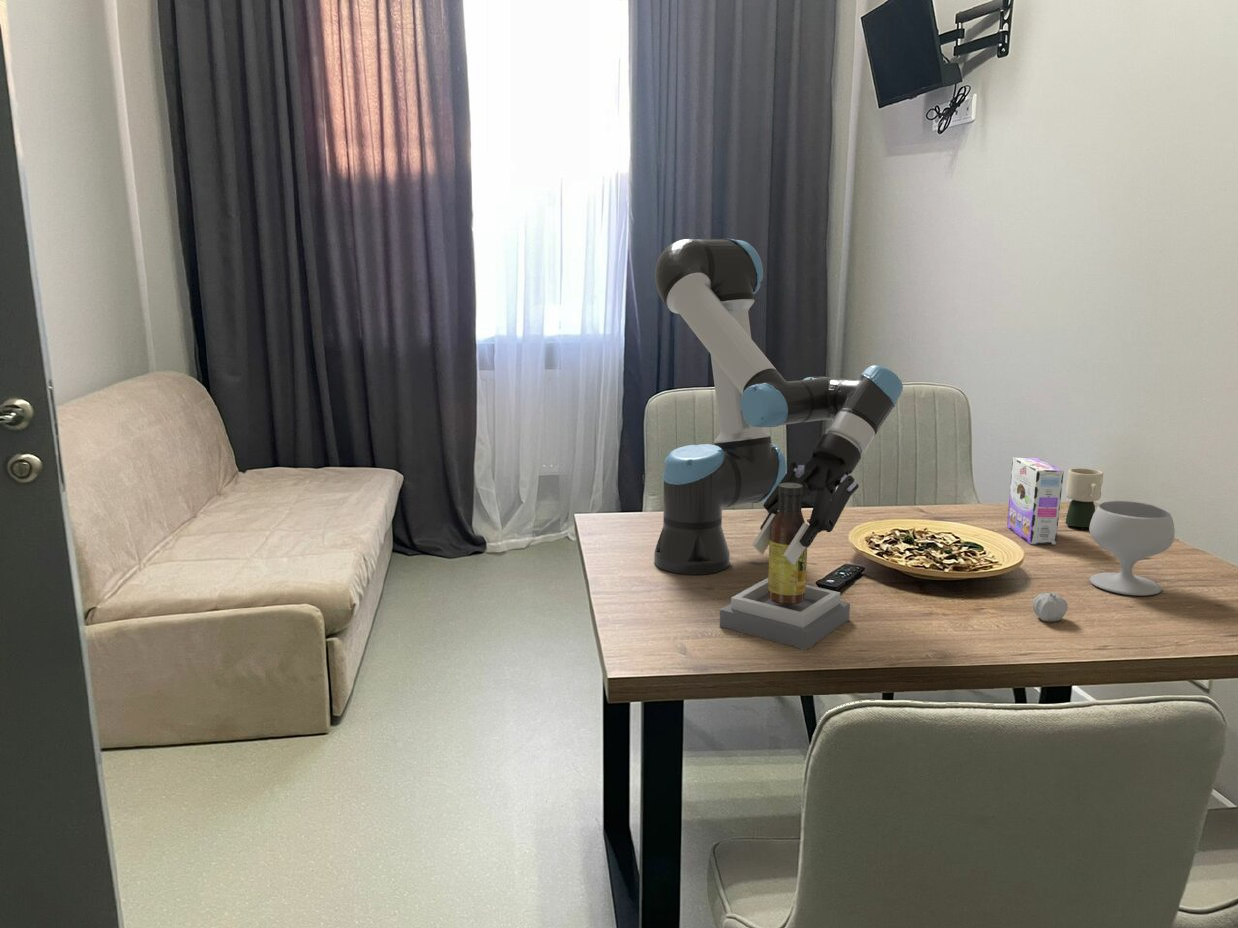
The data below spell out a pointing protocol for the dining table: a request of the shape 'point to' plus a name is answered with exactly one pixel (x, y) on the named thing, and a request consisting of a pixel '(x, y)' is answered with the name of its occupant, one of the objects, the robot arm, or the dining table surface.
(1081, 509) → the character mug
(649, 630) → the dining table surface
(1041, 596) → the garlic
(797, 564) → the sauce bottle
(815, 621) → the pedestal
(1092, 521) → the chalice
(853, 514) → the dining table surface
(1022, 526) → the candy box
